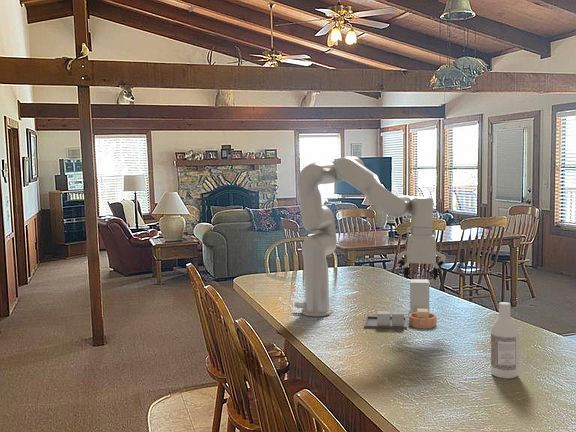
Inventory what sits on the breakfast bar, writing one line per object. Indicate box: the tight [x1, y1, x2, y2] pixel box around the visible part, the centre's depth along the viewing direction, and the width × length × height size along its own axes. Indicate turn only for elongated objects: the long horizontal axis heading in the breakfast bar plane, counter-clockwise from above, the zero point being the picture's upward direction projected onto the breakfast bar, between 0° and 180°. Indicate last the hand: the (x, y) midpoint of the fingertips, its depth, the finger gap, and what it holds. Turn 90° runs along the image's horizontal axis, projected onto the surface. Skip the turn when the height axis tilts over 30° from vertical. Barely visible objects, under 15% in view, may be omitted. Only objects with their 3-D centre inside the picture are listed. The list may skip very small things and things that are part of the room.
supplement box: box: [409, 278, 430, 314], centre depth 219 cm, size 7×7×13 cm
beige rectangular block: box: [417, 309, 428, 319], centre depth 202 cm, size 4×4×5 cm
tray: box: [363, 315, 408, 330], centre depth 204 cm, size 15×13×1 cm
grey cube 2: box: [391, 311, 405, 326], centre depth 199 cm, size 4×4×5 cm
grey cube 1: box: [376, 310, 391, 326], centre depth 201 cm, size 4×4×5 cm
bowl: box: [408, 312, 438, 329], centre depth 202 cm, size 10×10×4 cm
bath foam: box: [490, 301, 519, 380], centre depth 152 cm, size 7×7×20 cm
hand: (420, 278), depth 201 cm, fingers open, 9 cm apart
